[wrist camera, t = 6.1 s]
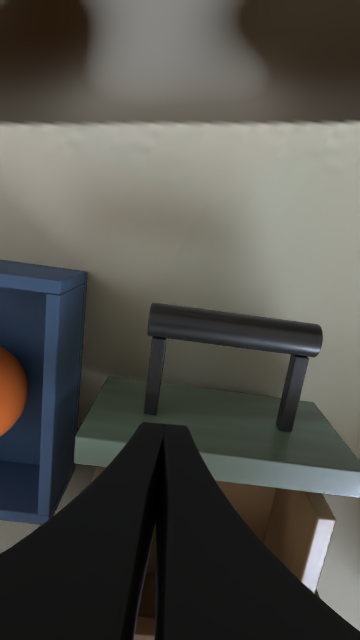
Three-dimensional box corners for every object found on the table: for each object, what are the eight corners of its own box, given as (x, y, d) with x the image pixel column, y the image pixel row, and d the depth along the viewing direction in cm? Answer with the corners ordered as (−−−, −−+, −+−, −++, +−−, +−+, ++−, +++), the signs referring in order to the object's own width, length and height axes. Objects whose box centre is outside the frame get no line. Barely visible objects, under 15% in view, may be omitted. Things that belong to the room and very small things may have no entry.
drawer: (116, 285, 17) (83, 307, 11) (335, 314, 17) (407, 350, 12) (91, 559, 21) (58, 675, 15) (269, 580, 21) (299, 701, 16)
